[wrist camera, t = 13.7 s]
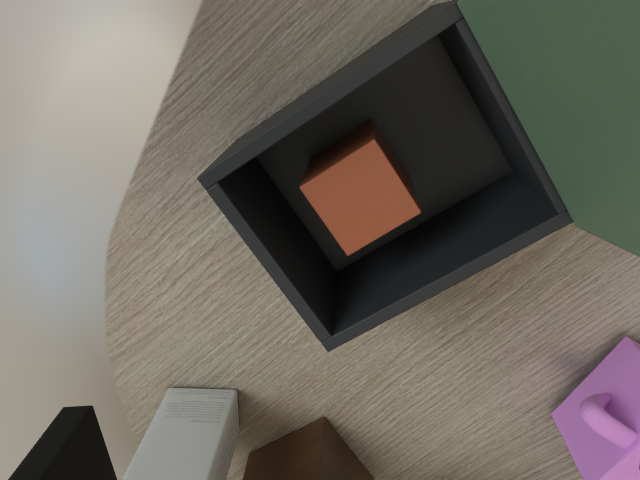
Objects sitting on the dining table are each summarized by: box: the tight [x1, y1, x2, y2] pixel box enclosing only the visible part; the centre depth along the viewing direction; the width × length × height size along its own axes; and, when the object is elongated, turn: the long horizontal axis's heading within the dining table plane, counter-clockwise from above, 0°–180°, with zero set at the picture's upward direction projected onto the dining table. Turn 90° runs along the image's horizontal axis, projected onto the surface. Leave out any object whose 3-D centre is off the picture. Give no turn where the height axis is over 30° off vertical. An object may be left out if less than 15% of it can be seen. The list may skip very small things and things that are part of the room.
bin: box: [197, 0, 574, 352], centre depth 33 cm, size 16×13×10 cm
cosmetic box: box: [122, 388, 240, 480], centre depth 41 cm, size 6×4×12 cm
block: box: [300, 118, 421, 256], centre depth 34 cm, size 5×5×7 cm
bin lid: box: [457, 0, 640, 257], centre depth 18 cm, size 16×13×1 cm
